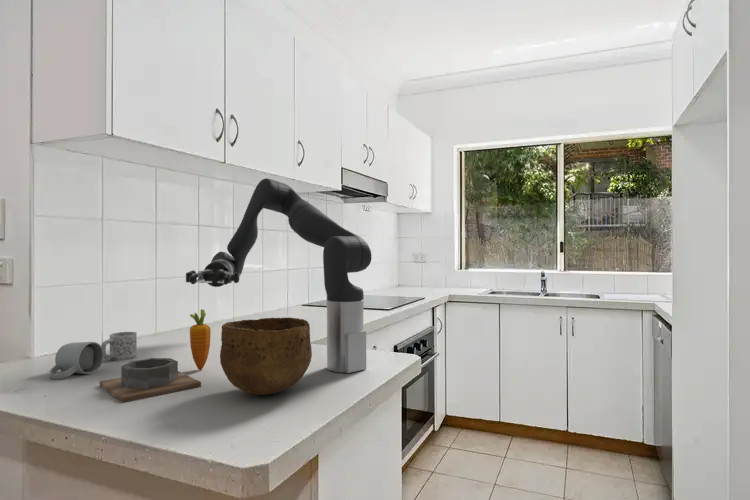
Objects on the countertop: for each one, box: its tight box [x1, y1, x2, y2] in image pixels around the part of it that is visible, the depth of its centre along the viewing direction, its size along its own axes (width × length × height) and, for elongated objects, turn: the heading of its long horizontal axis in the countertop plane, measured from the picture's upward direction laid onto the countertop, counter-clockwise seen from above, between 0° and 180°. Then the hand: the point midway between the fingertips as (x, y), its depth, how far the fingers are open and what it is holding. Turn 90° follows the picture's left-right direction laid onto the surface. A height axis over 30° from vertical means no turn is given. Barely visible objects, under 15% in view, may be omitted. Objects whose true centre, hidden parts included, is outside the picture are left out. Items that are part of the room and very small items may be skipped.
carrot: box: [189, 308, 211, 371], centre depth 121 cm, size 5×5×15 cm
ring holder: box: [99, 357, 202, 403], centre depth 107 cm, size 16×16×5 cm
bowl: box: [219, 317, 313, 396], centre depth 102 cm, size 19×19×15 cm
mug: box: [100, 331, 138, 361], centre depth 134 cm, size 10×7×7 cm
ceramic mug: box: [49, 341, 104, 380], centre depth 117 cm, size 11×8×8 cm
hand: (209, 280), depth 132 cm, fingers open, 8 cm apart
